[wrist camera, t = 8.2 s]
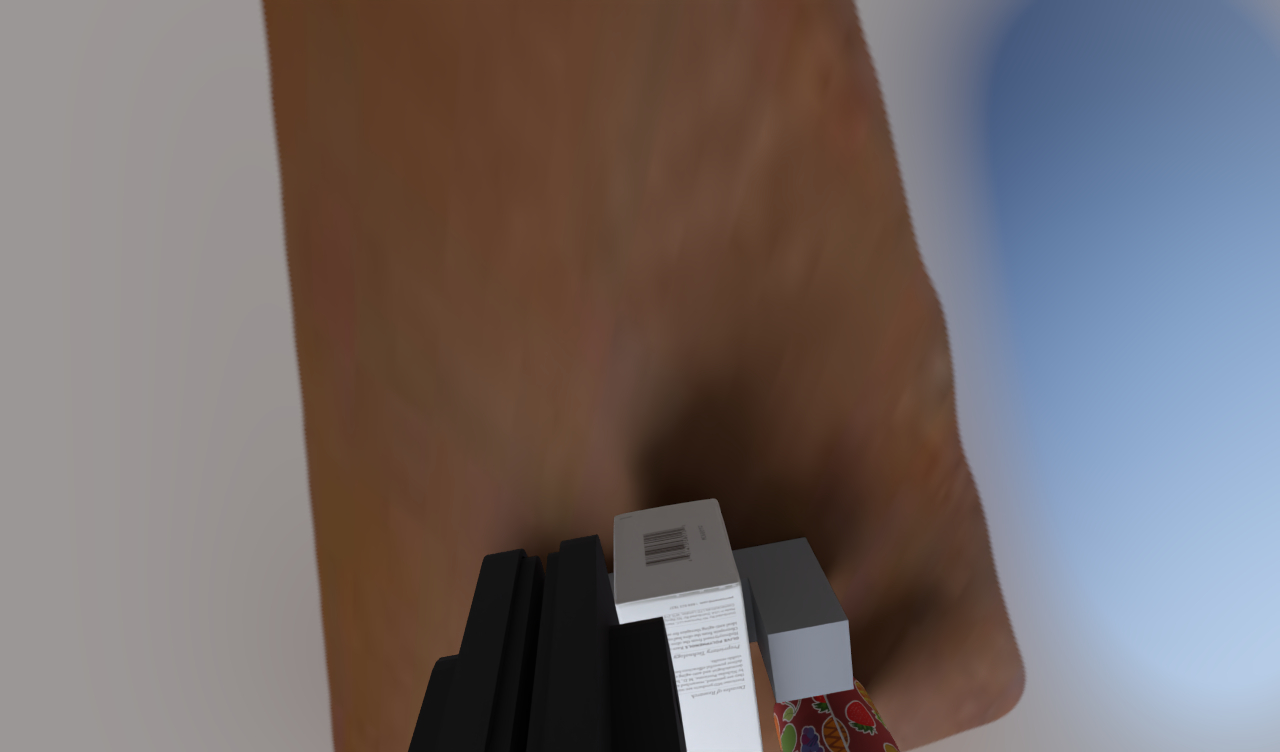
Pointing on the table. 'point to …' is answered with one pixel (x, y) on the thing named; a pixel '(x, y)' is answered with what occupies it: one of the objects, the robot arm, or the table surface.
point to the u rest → (793, 620)
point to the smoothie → (832, 724)
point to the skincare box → (692, 616)
